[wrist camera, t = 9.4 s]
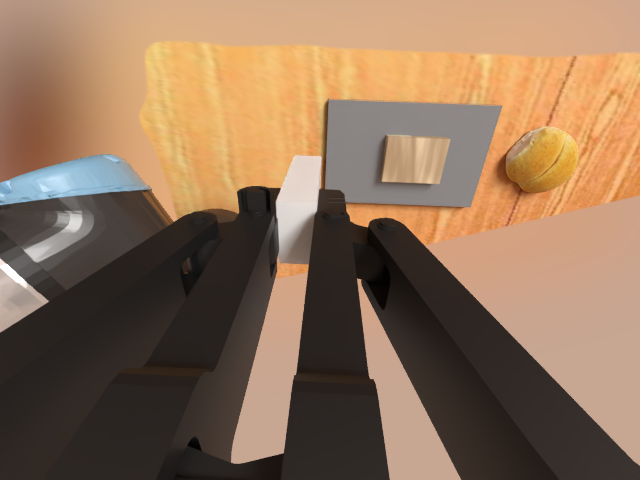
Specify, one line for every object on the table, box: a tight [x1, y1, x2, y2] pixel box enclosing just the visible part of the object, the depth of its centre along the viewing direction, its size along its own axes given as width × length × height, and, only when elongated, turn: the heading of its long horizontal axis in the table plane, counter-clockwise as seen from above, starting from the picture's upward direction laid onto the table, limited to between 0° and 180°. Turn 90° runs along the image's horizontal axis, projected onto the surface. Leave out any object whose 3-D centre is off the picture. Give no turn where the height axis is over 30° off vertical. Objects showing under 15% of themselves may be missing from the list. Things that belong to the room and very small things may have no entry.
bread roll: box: [506, 126, 578, 193], centre depth 40 cm, size 8×9×4 cm
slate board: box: [325, 99, 502, 207], centre depth 42 cm, size 22×14×1 cm, turn 88°
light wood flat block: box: [380, 135, 450, 184], centre depth 40 cm, size 2×6×8 cm
